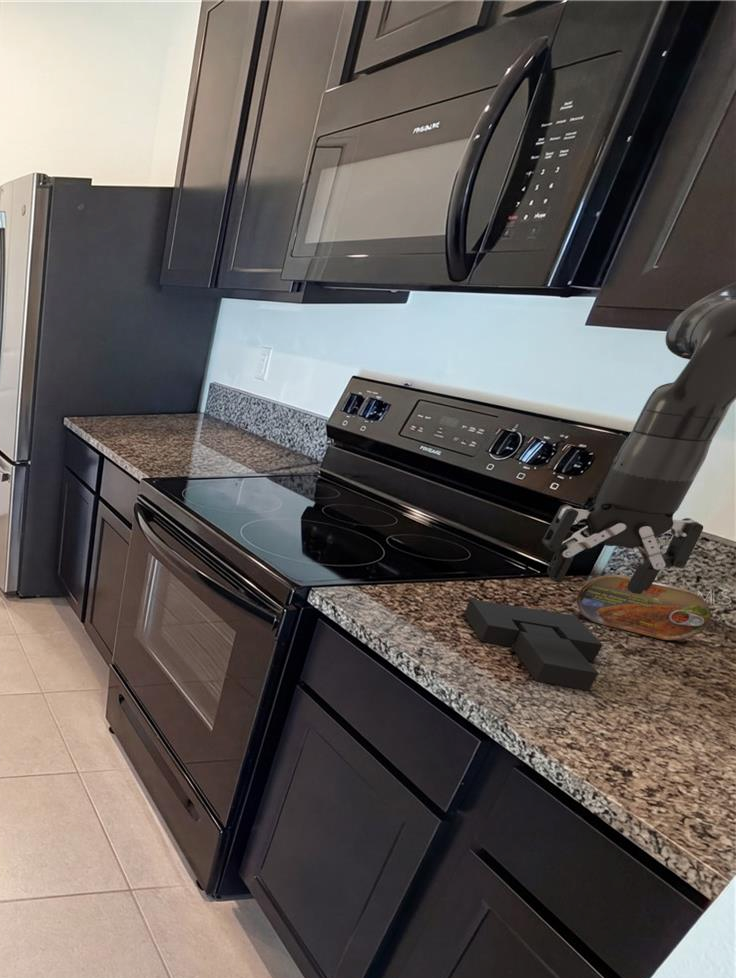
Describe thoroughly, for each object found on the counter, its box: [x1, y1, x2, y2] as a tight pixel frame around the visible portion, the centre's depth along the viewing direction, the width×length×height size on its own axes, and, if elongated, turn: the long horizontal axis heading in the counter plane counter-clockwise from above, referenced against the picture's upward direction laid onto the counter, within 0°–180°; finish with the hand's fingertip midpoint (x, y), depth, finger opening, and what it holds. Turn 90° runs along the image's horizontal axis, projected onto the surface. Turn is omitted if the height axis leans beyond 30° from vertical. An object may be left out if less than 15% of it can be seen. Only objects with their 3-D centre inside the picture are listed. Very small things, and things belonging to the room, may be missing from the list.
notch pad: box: [463, 598, 603, 662], centre depth 103 cm, size 14×10×3 cm
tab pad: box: [511, 623, 599, 692], centre depth 96 cm, size 6×14×3 cm, turn 157°
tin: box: [575, 574, 712, 641], centre depth 105 cm, size 15×3×8 cm, turn 45°
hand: (593, 585), depth 89 cm, fingers open, 8 cm apart
